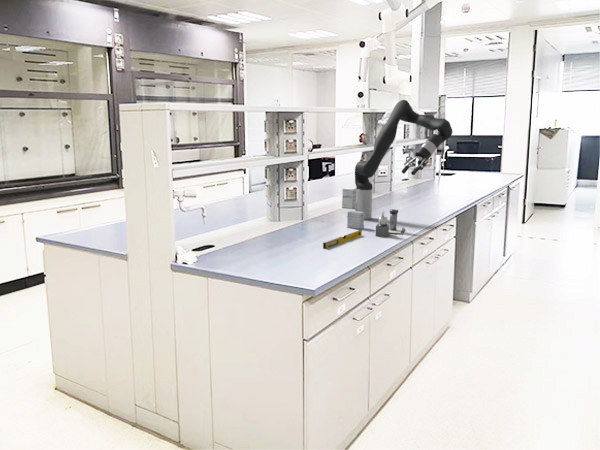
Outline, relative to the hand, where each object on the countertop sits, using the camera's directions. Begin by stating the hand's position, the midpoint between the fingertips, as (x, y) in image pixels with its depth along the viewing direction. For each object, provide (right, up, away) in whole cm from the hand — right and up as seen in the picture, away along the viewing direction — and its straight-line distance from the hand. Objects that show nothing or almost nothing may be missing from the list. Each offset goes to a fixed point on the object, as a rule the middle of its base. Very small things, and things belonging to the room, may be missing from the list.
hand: (407, 173), depth 281 cm
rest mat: (-9, -31, -7) cm, 33 cm away
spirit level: (-37, -36, -30) cm, 59 cm away
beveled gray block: (-16, -33, -16) cm, 40 cm away
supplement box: (-25, -16, +63) cm, 70 cm away
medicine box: (-27, -29, +1) cm, 40 cm away
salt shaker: (-9, -30, -7) cm, 32 cm away
